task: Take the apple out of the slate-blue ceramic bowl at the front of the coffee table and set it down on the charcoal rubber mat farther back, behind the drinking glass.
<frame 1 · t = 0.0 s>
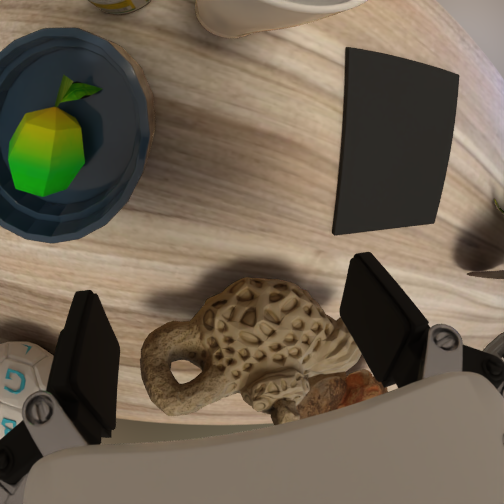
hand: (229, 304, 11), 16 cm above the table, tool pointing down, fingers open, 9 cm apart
disc: (501, 221, 37), on the table
bowl: (64, 127, 19), on the table
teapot: (244, 298, 33), on the table
puzzle ball: (38, 355, 32), on the table
mat: (401, 147, 27), on the table
lantern: (489, 351, 68), on the table
apple: (63, 127, 19), resting on bowl
drinking glass: (230, 8, 18), on the table
sculpture: (324, 370, 45), on the table
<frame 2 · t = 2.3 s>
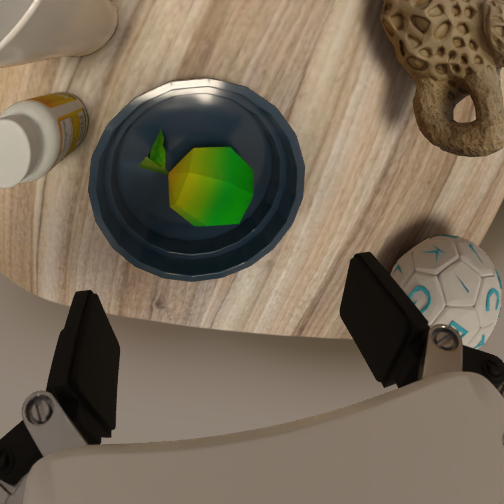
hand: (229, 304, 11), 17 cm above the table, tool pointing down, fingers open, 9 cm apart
bowl: (194, 169, 25), on the table
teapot: (406, 29, 20), on the table
puzzle ball: (409, 263, 37), on the table
supplement bottle: (60, 122, 20), on the table
apple: (194, 170, 24), resting on bowl
drinking glass: (87, 25, 16), on the table
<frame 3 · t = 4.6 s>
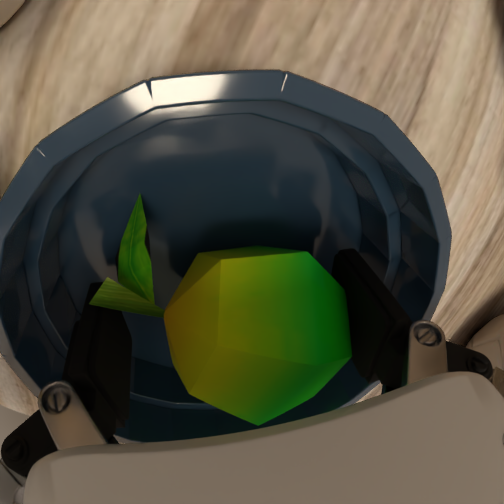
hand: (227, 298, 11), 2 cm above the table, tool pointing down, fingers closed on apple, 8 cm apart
bowl: (214, 265, 13), on the table
puzzle ball: (478, 334, 25), on the table
apple: (215, 269, 13), resting on bowl, touching gripper
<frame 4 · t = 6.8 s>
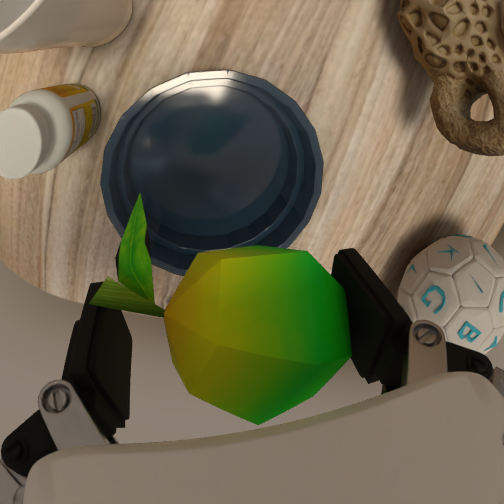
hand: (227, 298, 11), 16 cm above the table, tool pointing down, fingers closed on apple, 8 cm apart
bowl: (209, 163, 24), on the table
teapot: (422, 26, 19), on the table
puzzle ball: (422, 262, 36), on the table
supplement bottle: (71, 114, 19), on the table
apple: (215, 269, 13), point 14 cm above the table, touching gripper
drinking glass: (100, 16, 16), on the table
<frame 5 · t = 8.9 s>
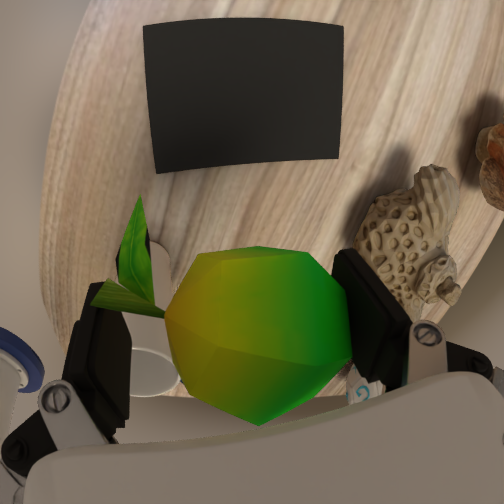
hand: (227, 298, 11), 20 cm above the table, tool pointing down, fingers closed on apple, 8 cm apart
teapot: (377, 225, 37), on the table
puzzle ball: (369, 353, 53), on the table
mat: (249, 90, 25), on the table
apple: (215, 270, 13), point 18 cm above the table, touching gripper
drinking glass: (146, 258, 32), on the table
sculpture: (482, 142, 33), on the table
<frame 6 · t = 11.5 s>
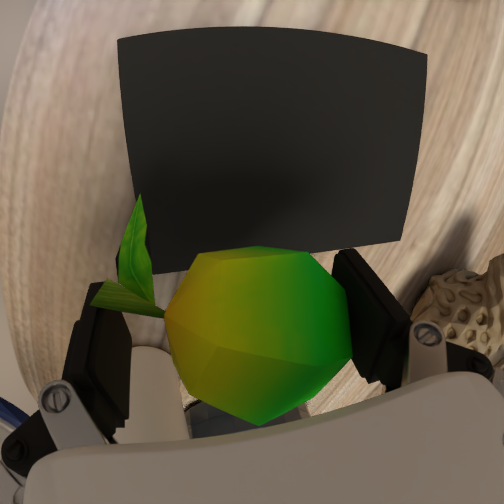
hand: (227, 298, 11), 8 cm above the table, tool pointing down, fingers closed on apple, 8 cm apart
bowl: (242, 418, 33), on the table
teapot: (424, 302, 29), on the table
mat: (292, 149, 17), on the table
apple: (215, 270, 13), point 6 cm above the table, touching gripper
drinking glass: (146, 360, 24), on the table
when the fingers open (2 cm above the table, at t = 13.6 s): apple stays where it is, resting on mat.
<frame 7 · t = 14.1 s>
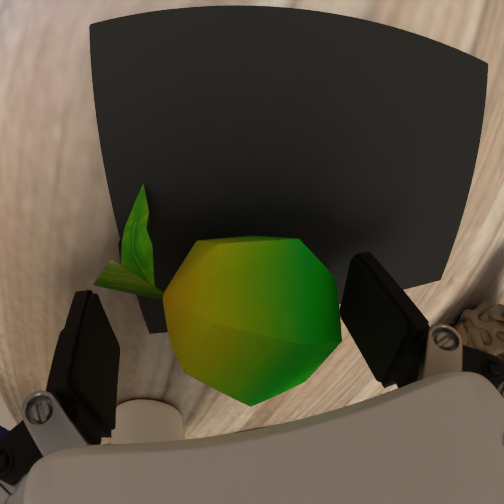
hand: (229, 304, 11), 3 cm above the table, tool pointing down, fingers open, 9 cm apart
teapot: (451, 335, 24), on the table
mat: (332, 178, 13), on the table
apple: (213, 258, 13), resting on mat
drinking glass: (147, 410, 20), on the table
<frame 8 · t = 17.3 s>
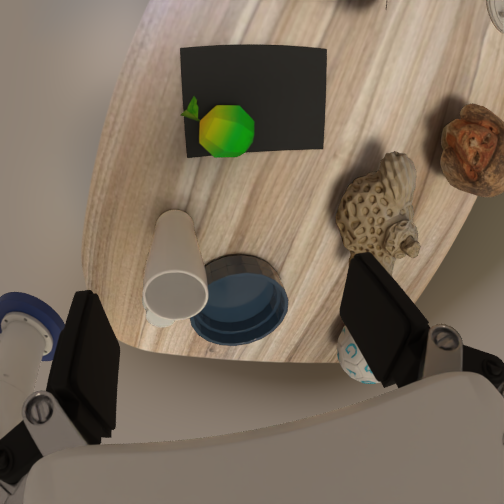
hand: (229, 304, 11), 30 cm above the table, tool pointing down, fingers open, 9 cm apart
chess piece: (498, 11, 29), on the table
bowl: (234, 292, 51), on the table
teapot: (356, 202, 46), on the table
puzzle ball: (357, 321, 63), on the table
mat: (256, 98, 35), on the table
supplement bottle: (162, 271, 46), on the table
apple: (214, 123, 35), resting on mat
drinking glass: (174, 224, 42), on the table
sculpture: (447, 136, 43), on the table
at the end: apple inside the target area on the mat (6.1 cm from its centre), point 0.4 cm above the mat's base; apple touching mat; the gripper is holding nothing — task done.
